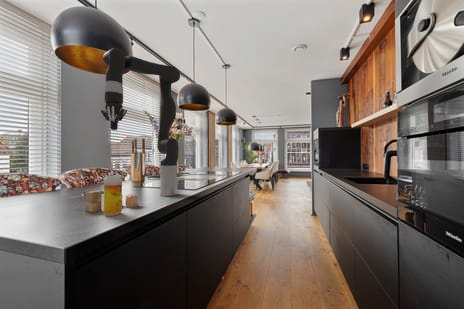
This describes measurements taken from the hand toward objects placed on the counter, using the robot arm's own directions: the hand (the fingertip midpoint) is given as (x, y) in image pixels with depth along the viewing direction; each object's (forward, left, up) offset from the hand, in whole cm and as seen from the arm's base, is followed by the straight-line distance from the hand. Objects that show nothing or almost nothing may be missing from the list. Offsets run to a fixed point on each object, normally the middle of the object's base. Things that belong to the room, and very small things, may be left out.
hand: (113, 129), depth 96 cm
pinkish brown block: (0, +10, -35) cm, 37 cm away
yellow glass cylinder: (+13, +12, -35) cm, 39 cm away
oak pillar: (+10, 0, -35) cm, 37 cm away
